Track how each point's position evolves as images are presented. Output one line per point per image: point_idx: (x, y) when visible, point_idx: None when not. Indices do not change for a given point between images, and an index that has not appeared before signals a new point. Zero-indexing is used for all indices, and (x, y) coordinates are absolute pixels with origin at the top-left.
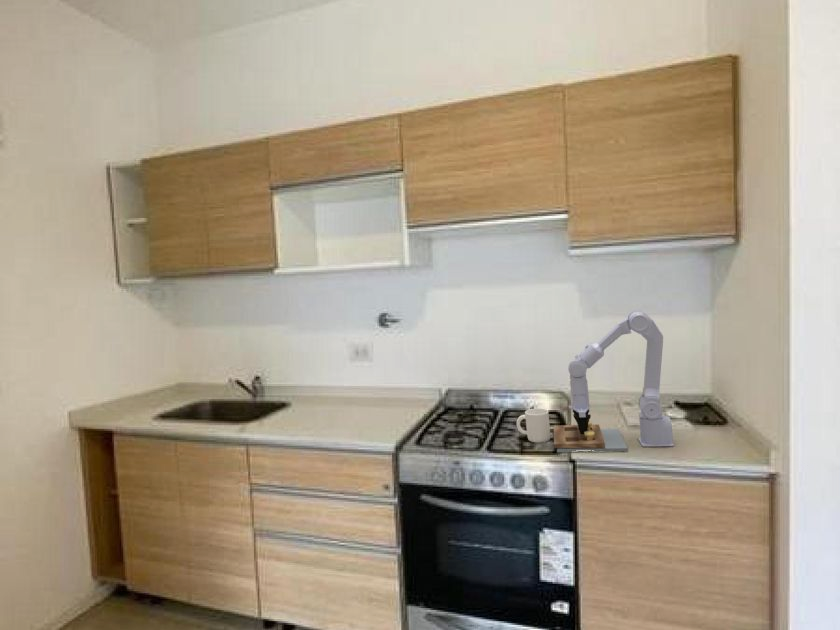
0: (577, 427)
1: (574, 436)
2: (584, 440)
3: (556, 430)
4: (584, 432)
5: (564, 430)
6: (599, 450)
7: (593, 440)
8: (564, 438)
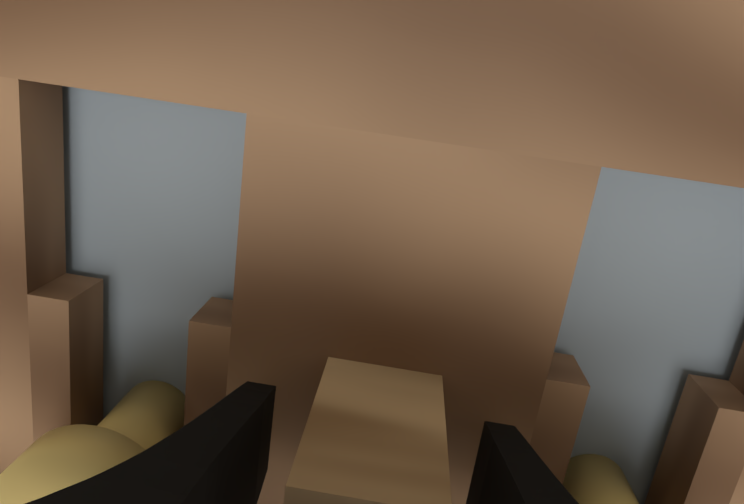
0: (732, 417)
1: (266, 273)
2: (64, 371)
3: (699, 6)
4: (63, 457)
5: (643, 169)
6: None
7: None
8: (181, 87)
